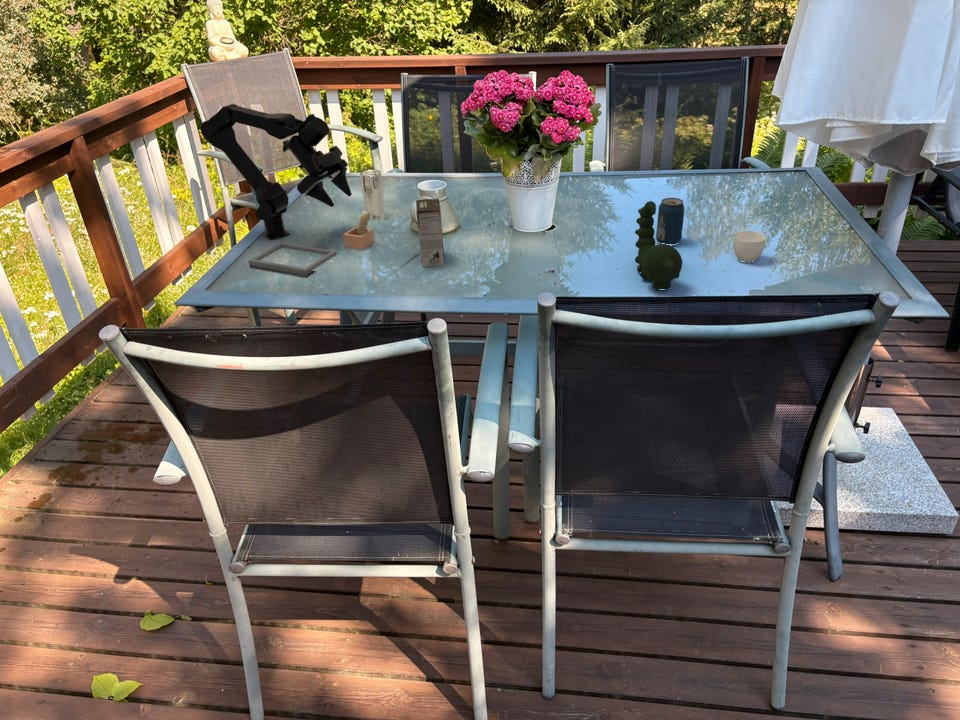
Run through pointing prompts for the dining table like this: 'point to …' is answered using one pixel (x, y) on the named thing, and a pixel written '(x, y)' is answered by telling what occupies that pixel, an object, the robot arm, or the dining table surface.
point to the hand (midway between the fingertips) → (342, 200)
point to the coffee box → (430, 232)
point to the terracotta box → (358, 239)
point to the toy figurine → (655, 252)
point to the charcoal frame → (287, 269)
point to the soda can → (670, 221)
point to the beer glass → (373, 193)
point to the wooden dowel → (363, 223)
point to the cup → (749, 245)
